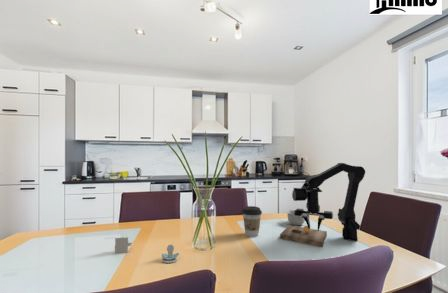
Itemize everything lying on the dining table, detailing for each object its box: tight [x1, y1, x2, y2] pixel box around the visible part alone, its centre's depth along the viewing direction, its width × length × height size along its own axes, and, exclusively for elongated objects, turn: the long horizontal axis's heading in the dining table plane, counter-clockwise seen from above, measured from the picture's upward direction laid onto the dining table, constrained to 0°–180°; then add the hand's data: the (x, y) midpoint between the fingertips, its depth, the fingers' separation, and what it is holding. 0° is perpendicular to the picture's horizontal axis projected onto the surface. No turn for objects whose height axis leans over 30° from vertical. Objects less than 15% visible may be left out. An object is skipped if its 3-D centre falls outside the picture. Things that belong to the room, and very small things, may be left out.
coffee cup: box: [241, 205, 263, 238], centre depth 127 cm, size 11×11×15 cm
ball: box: [303, 225, 312, 234], centre depth 122 cm, size 4×4×4 cm
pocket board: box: [279, 224, 328, 248], centre depth 123 cm, size 21×18×2 cm
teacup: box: [286, 209, 306, 227], centre depth 148 cm, size 14×11×8 cm
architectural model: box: [114, 237, 133, 255], centre depth 105 cm, size 3×7×7 cm, turn 98°
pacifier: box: [161, 244, 180, 264], centre depth 96 cm, size 7×6×6 cm
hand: (313, 229), depth 120 cm, fingers open, 4 cm apart
